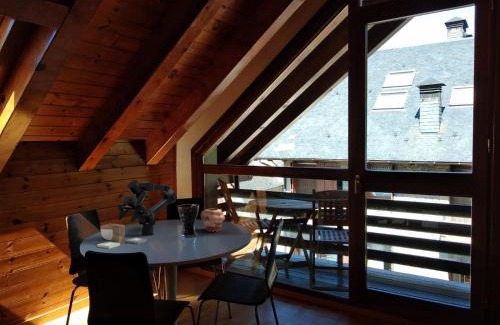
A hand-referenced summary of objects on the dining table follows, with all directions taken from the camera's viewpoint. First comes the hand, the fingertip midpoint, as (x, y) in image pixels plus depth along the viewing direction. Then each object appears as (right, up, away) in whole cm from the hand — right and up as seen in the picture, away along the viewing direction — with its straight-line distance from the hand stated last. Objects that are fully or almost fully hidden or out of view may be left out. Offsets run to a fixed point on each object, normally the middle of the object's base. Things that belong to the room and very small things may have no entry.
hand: (124, 220), depth 223 cm
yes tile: (-5, -12, -10) cm, 17 cm away
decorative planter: (+47, -11, +28) cm, 56 cm away
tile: (+7, -12, -1) cm, 14 cm away
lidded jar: (-11, -12, +7) cm, 17 cm away
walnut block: (-2, -12, -4) cm, 13 cm away
